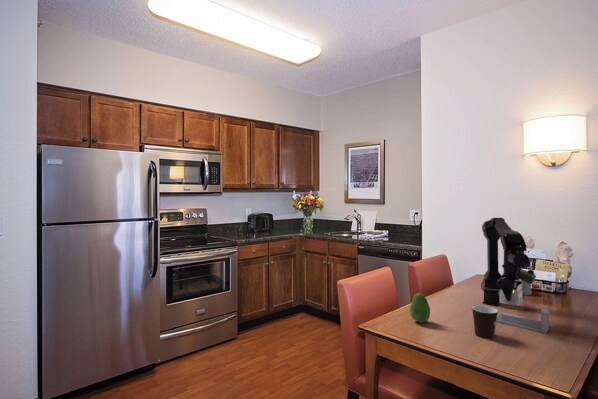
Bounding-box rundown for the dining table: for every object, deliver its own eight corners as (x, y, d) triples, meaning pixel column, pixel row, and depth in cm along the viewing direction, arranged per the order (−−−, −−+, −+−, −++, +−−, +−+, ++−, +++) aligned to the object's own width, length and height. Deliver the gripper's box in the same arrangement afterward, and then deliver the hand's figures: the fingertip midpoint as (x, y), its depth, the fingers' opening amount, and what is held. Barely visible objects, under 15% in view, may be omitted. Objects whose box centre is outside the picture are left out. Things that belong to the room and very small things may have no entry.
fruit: (415, 317, 151) (415, 289, 151) (433, 322, 146) (433, 293, 145) (406, 322, 146) (406, 293, 145) (424, 327, 140) (424, 297, 140)
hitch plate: (494, 321, 147) (494, 301, 146) (499, 316, 152) (500, 297, 152) (547, 333, 134) (547, 311, 134) (551, 328, 139) (551, 306, 139)
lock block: (499, 302, 146) (499, 289, 146) (503, 299, 150) (503, 286, 150) (518, 306, 141) (518, 292, 141) (522, 302, 146) (522, 289, 145)
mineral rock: (510, 288, 198) (510, 270, 197) (533, 291, 191) (533, 273, 191) (507, 293, 187) (507, 274, 187) (531, 297, 181) (531, 277, 181)
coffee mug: (487, 341, 127) (488, 314, 126) (466, 333, 134) (467, 307, 134) (507, 335, 132) (507, 309, 132) (485, 327, 140) (486, 303, 139)
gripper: (529, 269, 133) (528, 309, 134) (539, 262, 146) (538, 299, 147) (496, 265, 141) (496, 303, 141) (509, 258, 154) (508, 293, 155)
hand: (510, 299), depth 146 cm, fingers closed on lock block, 6 cm apart
